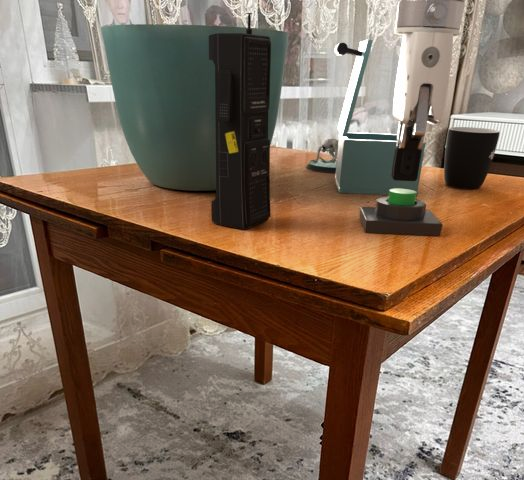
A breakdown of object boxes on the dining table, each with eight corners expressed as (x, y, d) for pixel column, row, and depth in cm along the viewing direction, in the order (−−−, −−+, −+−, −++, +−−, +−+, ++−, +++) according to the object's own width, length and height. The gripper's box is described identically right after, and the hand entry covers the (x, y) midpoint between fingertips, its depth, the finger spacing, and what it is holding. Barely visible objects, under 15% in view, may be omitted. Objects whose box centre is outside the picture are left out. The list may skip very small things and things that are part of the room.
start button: (411, 201, 76) (413, 189, 75) (416, 207, 73) (419, 194, 72) (386, 200, 76) (387, 187, 75) (389, 206, 73) (391, 193, 72)
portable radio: (244, 233, 70) (247, 7, 59) (206, 225, 73) (201, 7, 61) (272, 220, 77) (280, 13, 65) (236, 214, 79) (238, 13, 67)
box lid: (364, 42, 94) (337, 36, 94) (373, 40, 84) (341, 32, 83) (341, 129, 101) (315, 123, 100) (346, 137, 90) (317, 130, 90)
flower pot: (78, 185, 93) (58, 22, 82) (179, 163, 117) (174, 33, 105) (229, 210, 81) (229, 23, 70) (306, 179, 105) (316, 36, 94)
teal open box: (405, 183, 104) (412, 134, 100) (416, 196, 94) (425, 142, 90) (334, 180, 105) (339, 131, 101) (338, 192, 95) (343, 139, 91)
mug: (489, 192, 99) (503, 133, 94) (439, 188, 101) (449, 130, 96) (483, 181, 109) (494, 127, 105) (437, 177, 111) (446, 124, 106)
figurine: (292, 166, 117) (293, 136, 114) (332, 162, 124) (335, 133, 121) (327, 175, 109) (329, 142, 107) (368, 170, 116) (372, 139, 113)
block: (427, 221, 79) (431, 196, 78) (440, 236, 72) (445, 210, 70) (359, 218, 80) (361, 193, 78) (365, 232, 72) (368, 206, 71)
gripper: (479, 16, 57) (445, 192, 66) (445, 26, 71) (420, 171, 79) (408, 14, 58) (383, 189, 66) (387, 23, 71) (369, 169, 79)
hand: (403, 179), depth 73 cm, fingers closed
